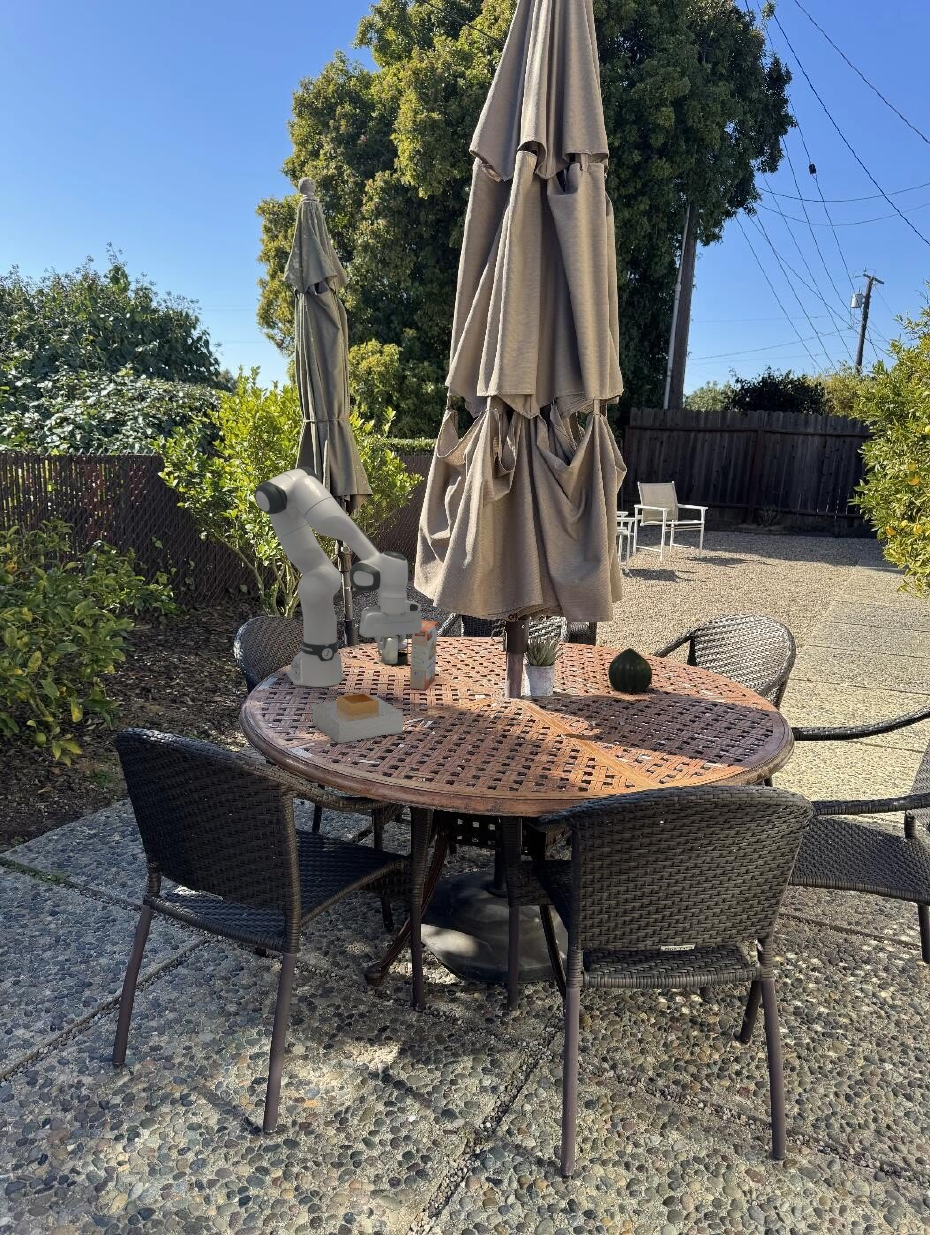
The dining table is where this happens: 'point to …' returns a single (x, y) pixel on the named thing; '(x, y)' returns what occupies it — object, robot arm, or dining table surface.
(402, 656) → the french press
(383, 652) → the clear glass cup
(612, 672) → the squash
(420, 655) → the cracker box
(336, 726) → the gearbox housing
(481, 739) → the dining table surface
